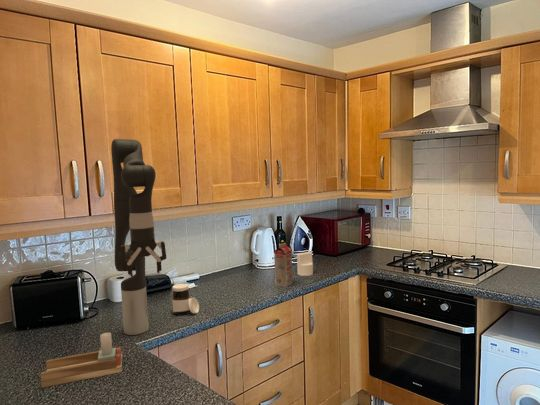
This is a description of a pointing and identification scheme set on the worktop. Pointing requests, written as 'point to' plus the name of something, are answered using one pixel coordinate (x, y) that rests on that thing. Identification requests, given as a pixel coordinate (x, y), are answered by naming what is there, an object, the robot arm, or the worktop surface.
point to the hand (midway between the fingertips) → (145, 274)
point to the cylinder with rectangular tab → (304, 264)
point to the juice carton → (283, 265)
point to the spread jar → (183, 300)
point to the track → (79, 368)
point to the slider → (106, 348)
